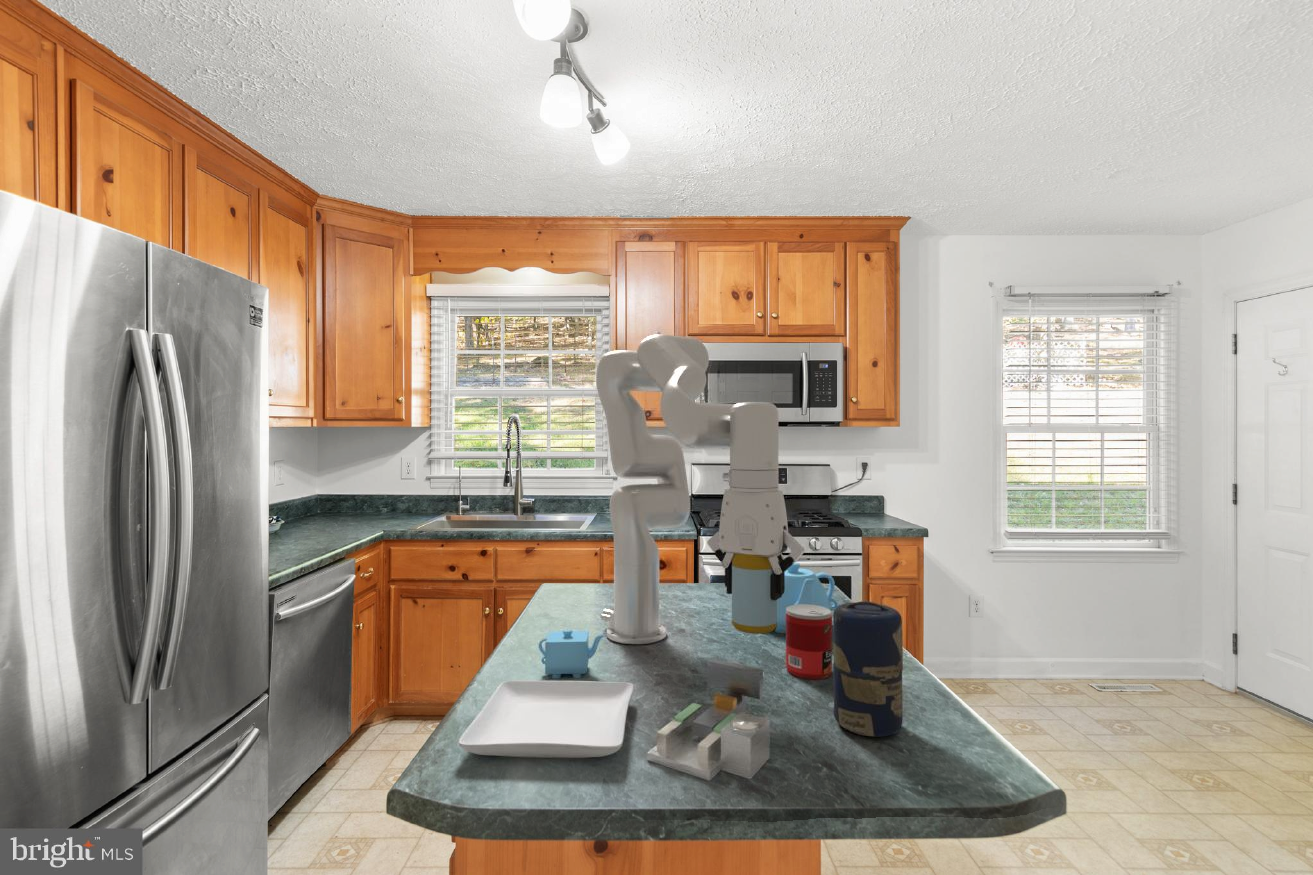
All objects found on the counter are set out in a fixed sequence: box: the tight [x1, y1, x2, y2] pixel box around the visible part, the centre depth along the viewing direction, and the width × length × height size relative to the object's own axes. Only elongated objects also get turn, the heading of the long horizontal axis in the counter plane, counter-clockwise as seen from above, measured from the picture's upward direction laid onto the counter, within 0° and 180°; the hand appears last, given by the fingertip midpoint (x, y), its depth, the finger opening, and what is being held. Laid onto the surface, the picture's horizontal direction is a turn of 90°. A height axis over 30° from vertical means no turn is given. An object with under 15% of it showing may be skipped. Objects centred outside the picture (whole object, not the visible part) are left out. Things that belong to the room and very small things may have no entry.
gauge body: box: [646, 702, 770, 782], centre depth 81 cm, size 13×11×5 cm
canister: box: [832, 600, 904, 738], centre depth 89 cm, size 10×10×18 cm
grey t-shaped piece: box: [692, 658, 764, 739], centre depth 87 cm, size 8×11×7 cm
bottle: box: [731, 533, 777, 635], centre depth 97 cm, size 7×7×15 cm
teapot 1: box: [538, 628, 607, 679], centre depth 109 cm, size 12×6×8 cm, turn 94°
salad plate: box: [458, 680, 635, 759], centre depth 88 cm, size 21×21×3 cm
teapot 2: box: [774, 561, 839, 634], centre depth 137 cm, size 16×20×14 cm
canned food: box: [785, 604, 833, 680], centre depth 110 cm, size 8×8×11 cm
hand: (754, 594), depth 97 cm, fingers closed on bottle, 6 cm apart
